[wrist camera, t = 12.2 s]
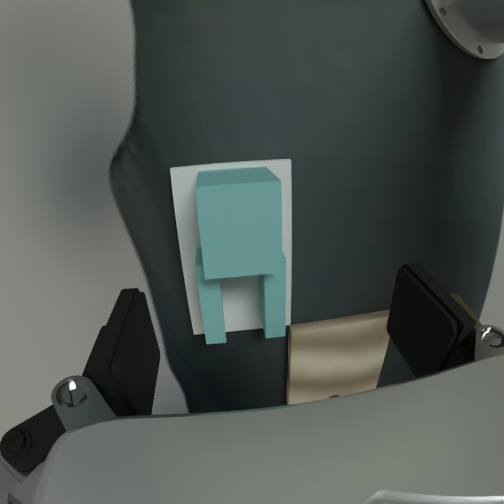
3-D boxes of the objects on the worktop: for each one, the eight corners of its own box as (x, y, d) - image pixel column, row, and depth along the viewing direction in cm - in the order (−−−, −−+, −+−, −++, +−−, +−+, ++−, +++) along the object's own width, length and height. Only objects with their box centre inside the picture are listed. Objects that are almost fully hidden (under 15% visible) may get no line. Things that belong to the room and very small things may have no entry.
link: (188, 172, 23) (182, 188, 18) (275, 165, 24) (293, 180, 19) (206, 319, 28) (206, 360, 23) (277, 312, 29) (290, 351, 24)
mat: (170, 167, 23) (170, 169, 23) (289, 159, 24) (290, 160, 24) (194, 330, 30) (193, 334, 29) (289, 320, 30) (290, 324, 30)
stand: (288, 325, 31) (315, 399, 22) (389, 309, 32) (436, 368, 23) (285, 421, 37) (301, 483, 28) (364, 405, 38) (391, 460, 29)
